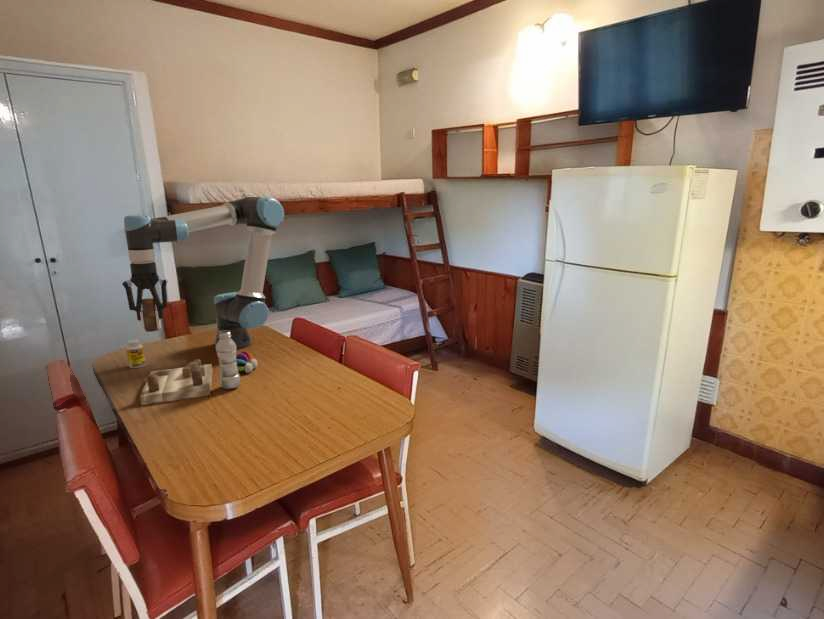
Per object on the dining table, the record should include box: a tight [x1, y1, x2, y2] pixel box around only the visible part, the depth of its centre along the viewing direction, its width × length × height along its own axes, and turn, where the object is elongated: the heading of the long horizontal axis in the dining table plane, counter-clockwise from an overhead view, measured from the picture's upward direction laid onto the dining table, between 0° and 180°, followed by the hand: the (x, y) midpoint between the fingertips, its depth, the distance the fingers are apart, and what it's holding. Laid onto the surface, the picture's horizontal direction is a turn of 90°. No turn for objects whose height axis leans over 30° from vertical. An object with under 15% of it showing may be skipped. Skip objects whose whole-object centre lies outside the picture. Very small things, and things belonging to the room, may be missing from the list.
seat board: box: [139, 363, 213, 406], centre depth 158 cm, size 20×22×8 cm
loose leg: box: [141, 297, 160, 333], centre depth 159 cm, size 4×4×11 cm
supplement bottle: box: [125, 339, 146, 369], centre depth 177 cm, size 6×6×10 cm
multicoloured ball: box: [236, 350, 258, 374], centre depth 172 cm, size 8×10×7 cm
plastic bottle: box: [215, 330, 241, 390], centre depth 155 cm, size 6×7×20 cm
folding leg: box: [181, 358, 202, 377], centre depth 163 cm, size 9×3×3 cm, turn 178°
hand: (152, 328), depth 160 cm, fingers closed on loose leg, 4 cm apart
